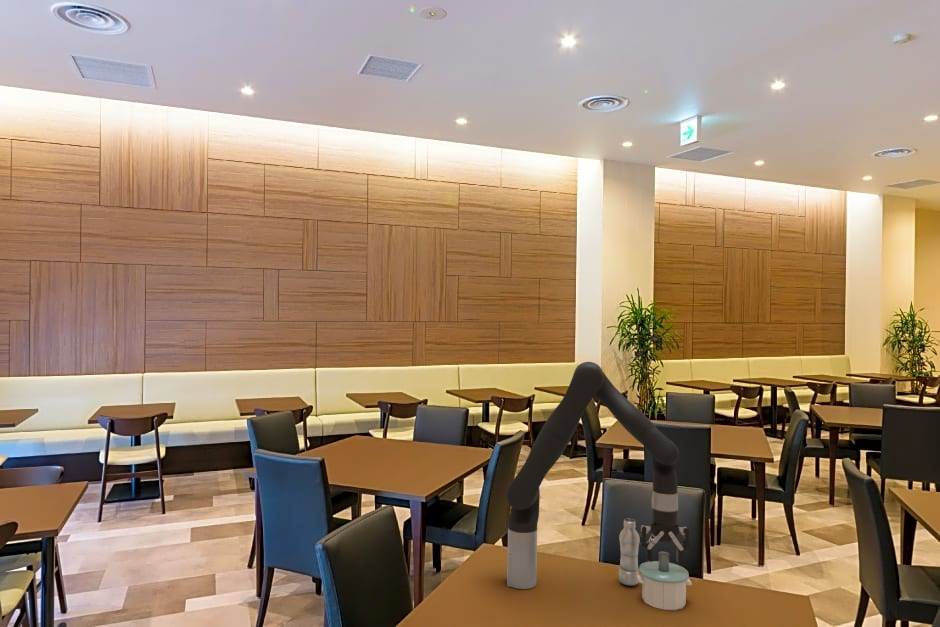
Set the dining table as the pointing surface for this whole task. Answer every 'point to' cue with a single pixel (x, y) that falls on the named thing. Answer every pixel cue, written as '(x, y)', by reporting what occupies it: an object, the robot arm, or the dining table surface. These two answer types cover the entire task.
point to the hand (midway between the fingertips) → (664, 561)
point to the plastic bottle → (629, 553)
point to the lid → (663, 570)
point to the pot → (664, 593)
